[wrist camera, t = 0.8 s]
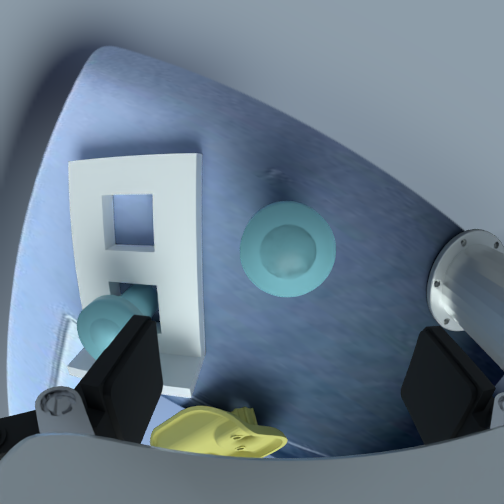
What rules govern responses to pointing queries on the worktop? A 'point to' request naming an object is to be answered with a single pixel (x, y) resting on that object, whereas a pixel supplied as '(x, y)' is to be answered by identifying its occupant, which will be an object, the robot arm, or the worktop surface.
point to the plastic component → (218, 433)
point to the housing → (145, 252)
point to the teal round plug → (287, 249)
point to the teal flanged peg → (113, 316)
